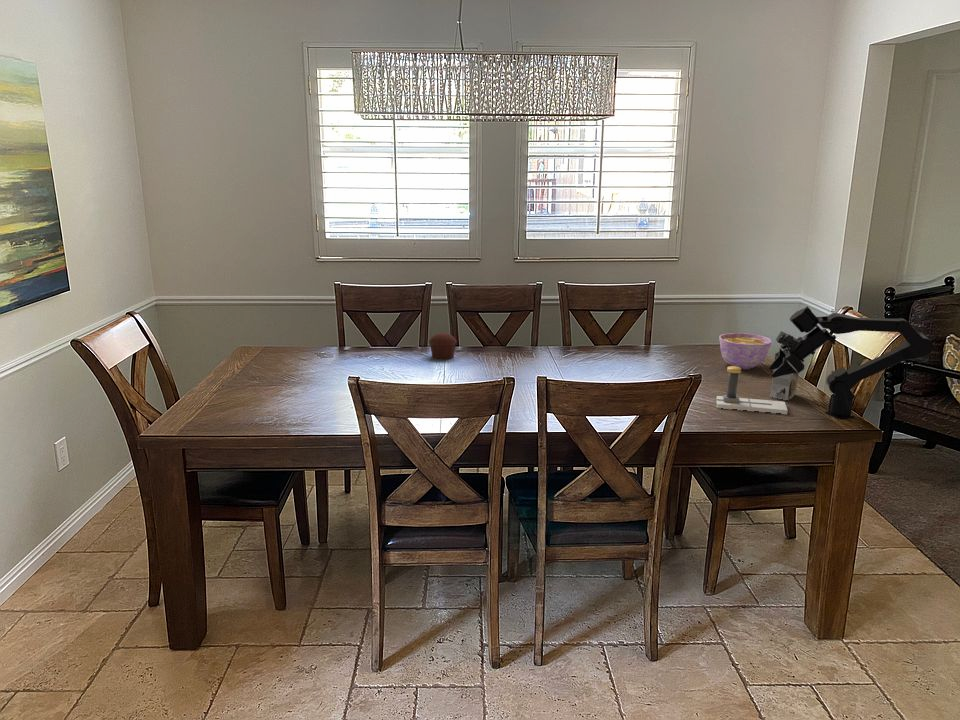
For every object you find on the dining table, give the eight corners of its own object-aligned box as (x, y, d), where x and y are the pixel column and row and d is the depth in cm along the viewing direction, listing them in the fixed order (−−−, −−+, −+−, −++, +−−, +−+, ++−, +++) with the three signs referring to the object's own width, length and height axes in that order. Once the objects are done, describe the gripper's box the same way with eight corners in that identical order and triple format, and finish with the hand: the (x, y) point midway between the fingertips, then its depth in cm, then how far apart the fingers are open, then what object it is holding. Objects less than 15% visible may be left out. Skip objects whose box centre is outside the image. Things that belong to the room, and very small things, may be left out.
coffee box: (777, 391, 264) (783, 348, 260) (796, 394, 260) (802, 351, 256) (769, 397, 258) (774, 353, 253) (788, 401, 254) (793, 356, 249)
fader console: (784, 405, 249) (784, 401, 248) (787, 414, 240) (787, 409, 240) (714, 399, 254) (715, 395, 254) (715, 408, 246) (715, 403, 246)
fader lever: (738, 398, 250) (741, 366, 247) (739, 402, 246) (742, 370, 243) (723, 397, 251) (726, 365, 248) (723, 401, 247) (726, 369, 244)
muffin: (424, 358, 304) (424, 335, 301) (435, 352, 314) (435, 329, 311) (451, 361, 300) (450, 337, 297) (461, 355, 310) (460, 332, 307)
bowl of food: (708, 360, 304) (711, 333, 301) (755, 359, 306) (758, 332, 303) (728, 373, 285) (730, 345, 282) (777, 373, 287) (781, 344, 284)
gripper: (790, 318, 245) (752, 348, 251) (797, 330, 228) (756, 362, 234) (813, 343, 245) (774, 372, 251) (821, 356, 228) (779, 387, 234)
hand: (770, 372), depth 243 cm, fingers open, 9 cm apart
